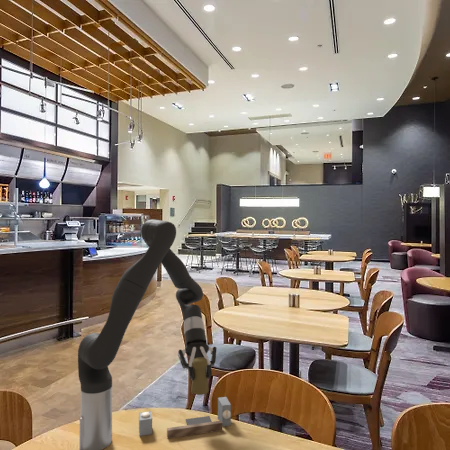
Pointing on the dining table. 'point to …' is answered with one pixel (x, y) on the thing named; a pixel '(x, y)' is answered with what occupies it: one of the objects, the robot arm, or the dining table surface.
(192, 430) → the handrail
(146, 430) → the near end cabinet
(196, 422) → the mat
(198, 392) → the olive pawn
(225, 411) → the far end cabinet
